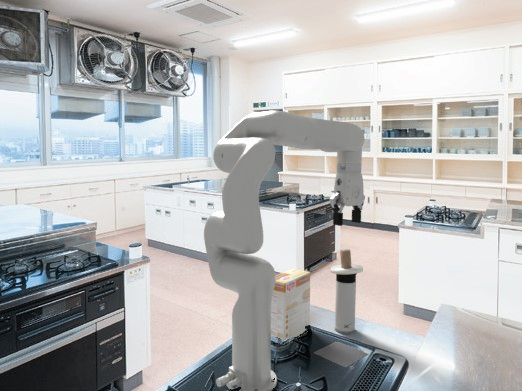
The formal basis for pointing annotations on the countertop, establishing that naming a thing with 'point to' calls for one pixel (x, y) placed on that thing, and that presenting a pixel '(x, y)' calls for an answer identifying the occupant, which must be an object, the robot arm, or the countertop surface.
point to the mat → (341, 354)
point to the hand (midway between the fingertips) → (347, 223)
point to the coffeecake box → (290, 304)
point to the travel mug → (345, 303)
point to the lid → (346, 264)
